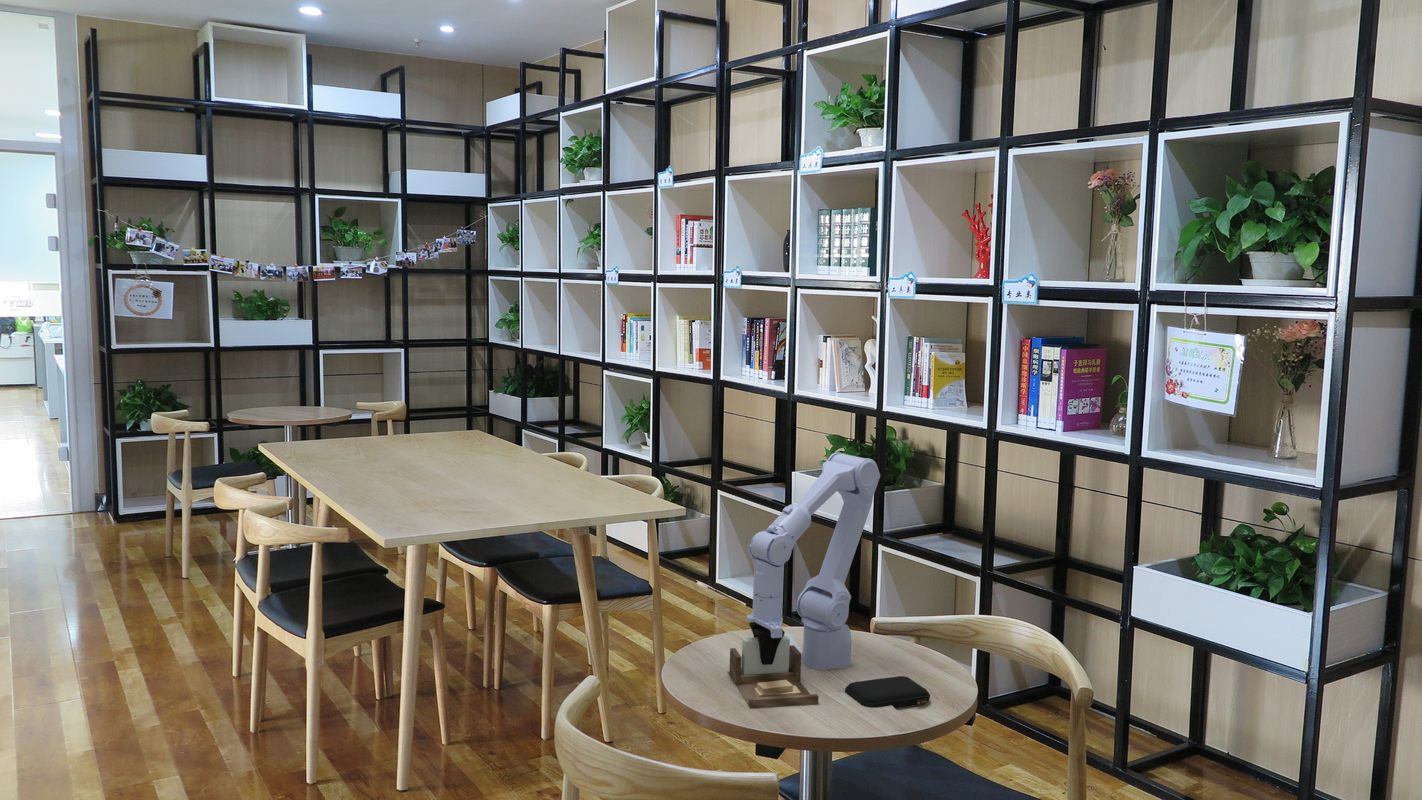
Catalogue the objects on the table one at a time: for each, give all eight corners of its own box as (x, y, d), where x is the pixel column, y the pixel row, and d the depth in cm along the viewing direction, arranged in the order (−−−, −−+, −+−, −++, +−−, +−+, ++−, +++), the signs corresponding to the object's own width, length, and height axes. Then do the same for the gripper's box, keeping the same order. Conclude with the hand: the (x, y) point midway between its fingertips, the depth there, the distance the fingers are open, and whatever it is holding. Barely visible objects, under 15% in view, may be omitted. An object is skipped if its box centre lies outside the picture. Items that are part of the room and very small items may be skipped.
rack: (789, 673, 215) (791, 641, 214) (818, 709, 197) (819, 675, 196) (726, 676, 212) (727, 644, 211) (749, 713, 194) (751, 679, 194)
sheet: (785, 675, 211) (786, 636, 210) (788, 679, 209) (789, 639, 208) (741, 677, 209) (742, 638, 208) (743, 681, 207) (745, 641, 206)
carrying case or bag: (869, 718, 195) (937, 708, 200) (869, 702, 194) (938, 692, 200) (840, 696, 205) (906, 687, 210) (841, 680, 204) (907, 672, 210)
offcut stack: (795, 691, 203) (795, 679, 202) (801, 699, 199) (801, 686, 199) (754, 693, 201) (754, 681, 201) (759, 701, 197) (760, 689, 197)
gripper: (738, 583, 213) (736, 649, 214) (757, 606, 199) (755, 676, 200) (772, 582, 214) (770, 647, 216) (794, 604, 200) (791, 674, 202)
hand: (765, 661), depth 208 cm, fingers closed on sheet, 2 cm apart
